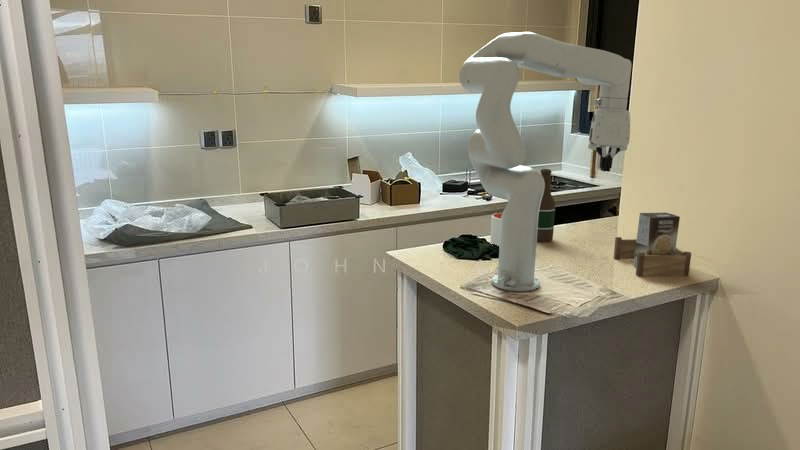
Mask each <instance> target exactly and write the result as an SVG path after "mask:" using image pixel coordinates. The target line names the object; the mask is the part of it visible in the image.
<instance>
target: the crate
mask: <svg viewBox="0 0 800 450" xmlns="http://www.w3.org/2000/svg"><path fill="white" fill-rule="evenodd" d="M614 240H615V241H614V249H613V259H614V260H615V261H616V260H617V261H618V260H619V261H620V260H634V257H635V249H636V240H637V238H636V239H633V238H632V239H629V238H628V239H626V238H625V239H624V238H623V237H621V236H615V238H614ZM691 258H692V252H691V251H684V250H682V249H680V248H678V247H676V249H675V255H645V252H638V257H637V267H635V276H636V277H689V275H690V274H689V273H690V267H691Z"/></svg>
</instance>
